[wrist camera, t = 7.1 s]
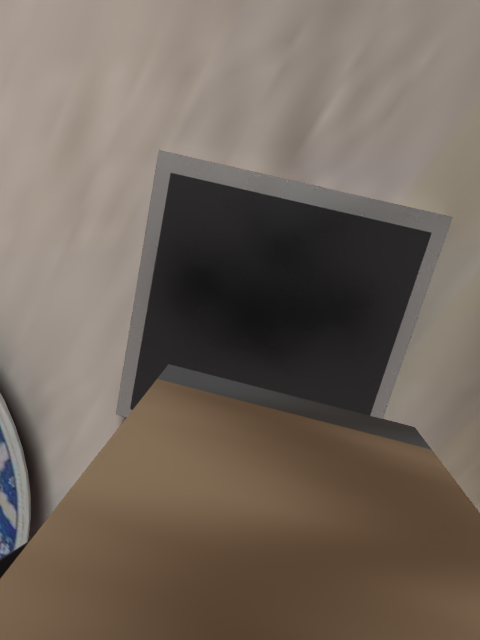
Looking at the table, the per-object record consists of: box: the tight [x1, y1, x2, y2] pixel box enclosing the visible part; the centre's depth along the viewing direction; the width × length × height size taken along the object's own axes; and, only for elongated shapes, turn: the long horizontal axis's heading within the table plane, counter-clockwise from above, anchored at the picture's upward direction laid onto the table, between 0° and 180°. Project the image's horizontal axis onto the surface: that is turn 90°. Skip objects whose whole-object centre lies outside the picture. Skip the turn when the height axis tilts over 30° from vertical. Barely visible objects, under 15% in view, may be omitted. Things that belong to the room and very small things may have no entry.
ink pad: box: [116, 150, 452, 419], centre depth 17 cm, size 12×12×2 cm
